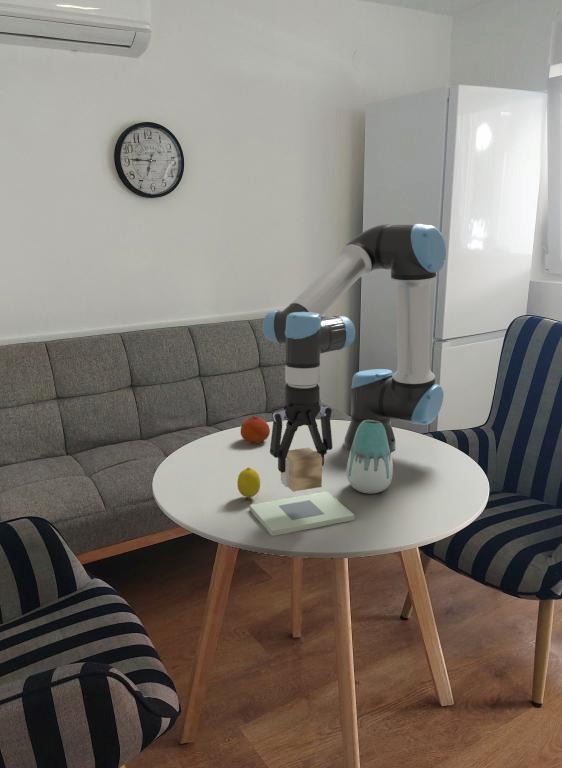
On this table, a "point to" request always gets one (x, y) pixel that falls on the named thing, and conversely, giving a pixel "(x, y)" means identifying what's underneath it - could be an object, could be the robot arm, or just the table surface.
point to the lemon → (248, 482)
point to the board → (300, 513)
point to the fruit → (255, 430)
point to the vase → (370, 459)
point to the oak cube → (304, 469)
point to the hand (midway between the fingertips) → (301, 482)
